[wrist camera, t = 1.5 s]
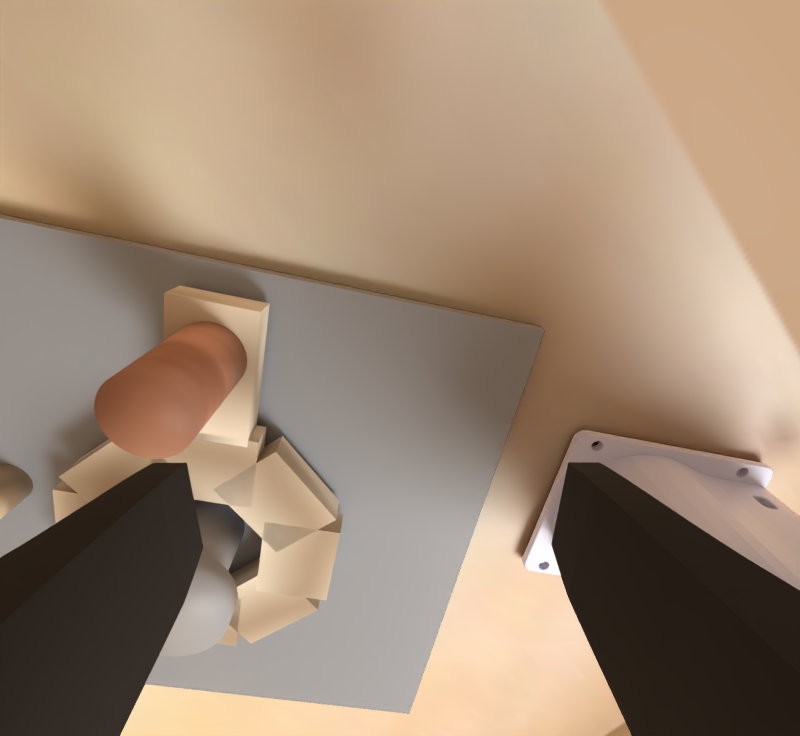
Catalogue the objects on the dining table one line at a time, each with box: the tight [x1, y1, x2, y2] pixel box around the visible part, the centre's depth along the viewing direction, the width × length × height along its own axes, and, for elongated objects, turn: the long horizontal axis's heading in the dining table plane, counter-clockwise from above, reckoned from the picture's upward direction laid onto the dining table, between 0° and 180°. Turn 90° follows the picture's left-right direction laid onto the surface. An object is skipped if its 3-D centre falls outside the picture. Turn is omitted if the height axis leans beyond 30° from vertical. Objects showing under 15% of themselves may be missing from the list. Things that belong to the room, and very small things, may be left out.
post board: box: [0, 214, 544, 714], centre depth 18 cm, size 24×24×5 cm
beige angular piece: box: [53, 285, 343, 646], centre depth 16 cm, size 17×12×6 cm
